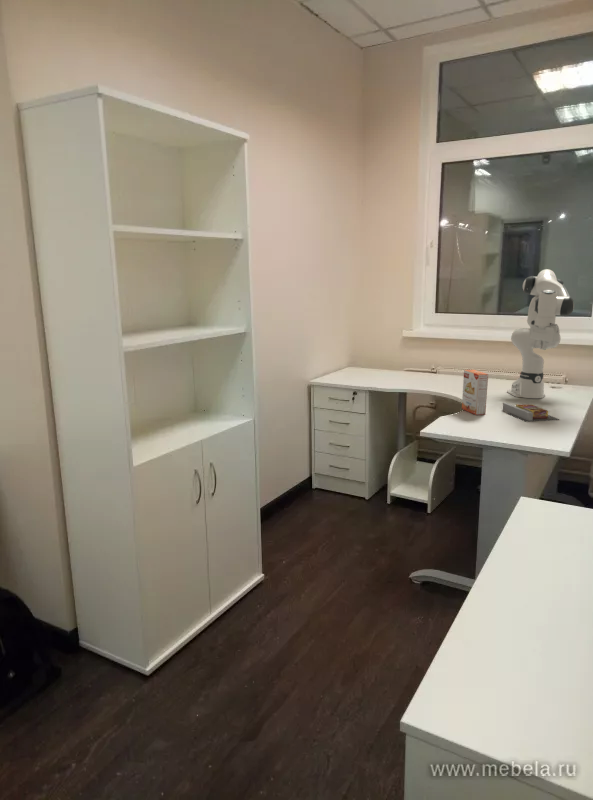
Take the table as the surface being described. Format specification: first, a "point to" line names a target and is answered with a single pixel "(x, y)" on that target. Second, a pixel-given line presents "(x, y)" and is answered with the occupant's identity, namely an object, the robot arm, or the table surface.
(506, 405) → the mat with rail
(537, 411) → the candy box
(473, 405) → the cracker box
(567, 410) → the table surface
